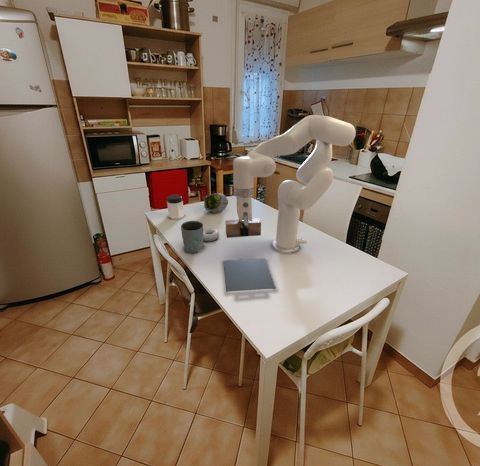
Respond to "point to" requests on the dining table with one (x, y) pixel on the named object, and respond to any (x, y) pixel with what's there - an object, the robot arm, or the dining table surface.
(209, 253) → the dining table surface
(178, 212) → the jar
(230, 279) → the slate board
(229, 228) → the eraser
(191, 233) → the gray cup
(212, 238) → the donut
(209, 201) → the potted plant
